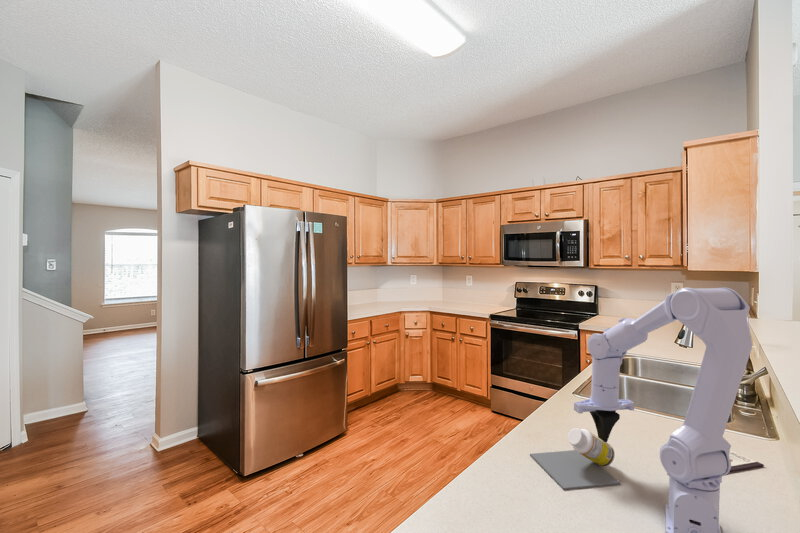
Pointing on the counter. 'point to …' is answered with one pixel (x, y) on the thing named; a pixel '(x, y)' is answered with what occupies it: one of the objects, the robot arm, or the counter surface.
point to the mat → (573, 470)
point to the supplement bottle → (591, 446)
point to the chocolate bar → (742, 462)
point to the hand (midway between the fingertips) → (602, 440)
